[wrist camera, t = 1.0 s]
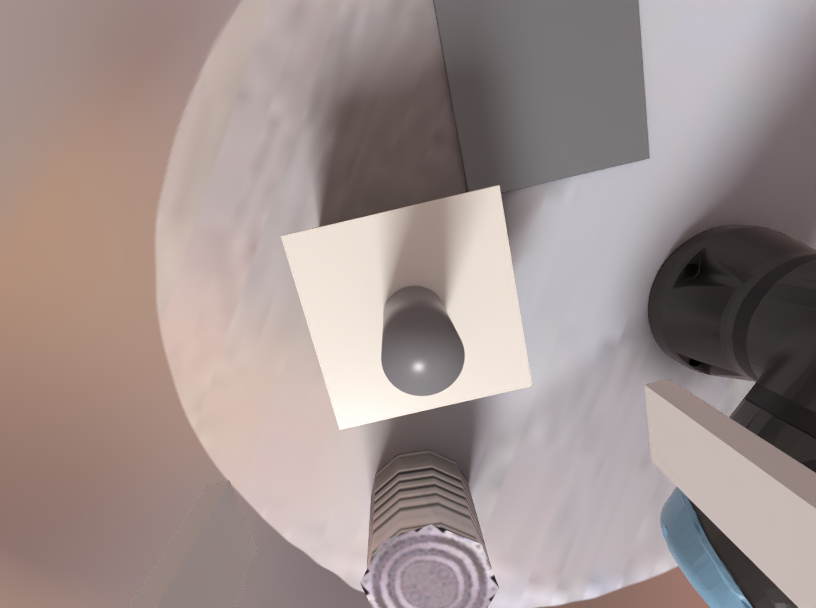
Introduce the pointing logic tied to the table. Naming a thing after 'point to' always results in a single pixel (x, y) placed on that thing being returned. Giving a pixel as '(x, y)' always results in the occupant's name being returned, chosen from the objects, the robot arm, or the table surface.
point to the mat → (543, 87)
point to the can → (425, 538)
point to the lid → (412, 306)
